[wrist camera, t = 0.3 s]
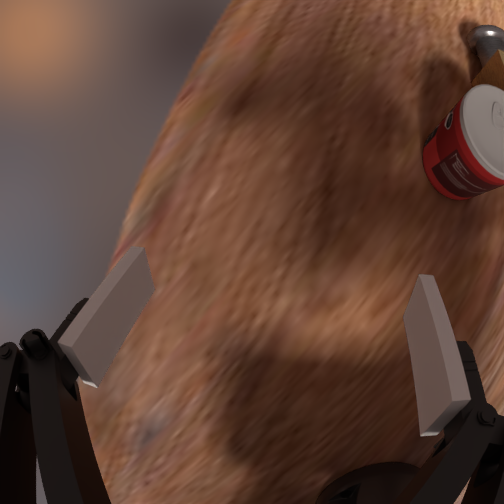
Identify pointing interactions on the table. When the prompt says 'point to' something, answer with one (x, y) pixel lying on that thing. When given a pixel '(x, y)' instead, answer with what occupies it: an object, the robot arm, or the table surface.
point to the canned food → (468, 146)
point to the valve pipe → (488, 54)
